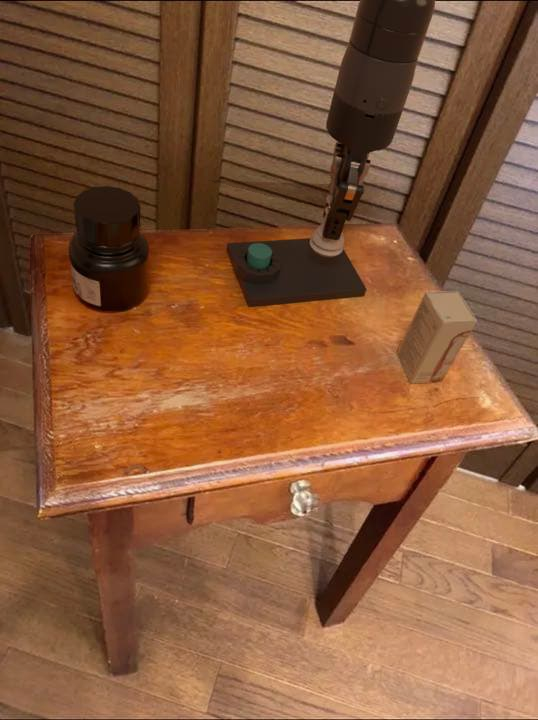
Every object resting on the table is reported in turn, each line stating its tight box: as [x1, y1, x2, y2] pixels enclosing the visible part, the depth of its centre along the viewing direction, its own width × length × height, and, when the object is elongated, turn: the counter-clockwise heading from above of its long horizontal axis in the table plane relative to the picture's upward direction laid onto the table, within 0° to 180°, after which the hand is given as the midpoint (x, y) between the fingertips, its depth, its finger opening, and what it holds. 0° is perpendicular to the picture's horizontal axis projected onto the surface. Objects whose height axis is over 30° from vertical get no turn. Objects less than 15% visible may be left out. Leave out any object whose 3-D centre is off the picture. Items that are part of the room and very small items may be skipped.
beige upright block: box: [396, 291, 478, 384], centre depth 67 cm, size 5×4×10 cm
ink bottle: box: [68, 185, 150, 313], centre depth 66 cm, size 10×9×12 cm
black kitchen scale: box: [226, 237, 367, 308], centre depth 77 cm, size 16×11×3 cm, turn 107°
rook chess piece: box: [310, 194, 345, 257], centre depth 73 cm, size 4×4×8 cm
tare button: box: [247, 243, 272, 269], centre depth 74 cm, size 3×3×2 cm
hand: (330, 227), depth 74 cm, fingers closed on rook chess piece, 3 cm apart
